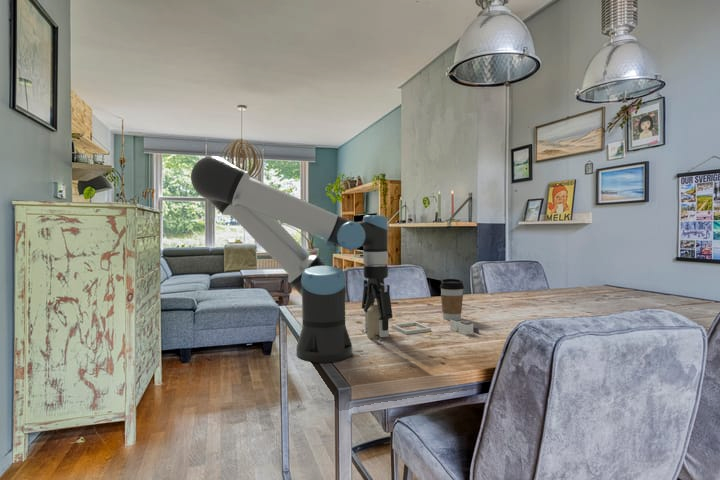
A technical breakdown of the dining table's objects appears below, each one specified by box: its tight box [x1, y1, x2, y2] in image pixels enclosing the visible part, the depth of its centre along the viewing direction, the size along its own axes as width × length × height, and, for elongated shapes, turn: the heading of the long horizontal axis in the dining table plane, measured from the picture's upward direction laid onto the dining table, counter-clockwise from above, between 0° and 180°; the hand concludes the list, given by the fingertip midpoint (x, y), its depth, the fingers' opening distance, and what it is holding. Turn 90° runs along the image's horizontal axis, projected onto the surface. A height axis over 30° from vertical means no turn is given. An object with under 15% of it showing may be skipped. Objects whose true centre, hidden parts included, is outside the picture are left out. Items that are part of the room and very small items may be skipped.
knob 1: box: [449, 317, 464, 332], centre depth 129 cm, size 3×3×4 cm
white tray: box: [390, 321, 480, 339], centre depth 129 cm, size 22×18×3 cm
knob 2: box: [458, 320, 474, 336], centre depth 125 cm, size 3×3×4 cm
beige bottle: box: [367, 303, 381, 340], centre depth 128 cm, size 6×6×10 cm
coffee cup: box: [439, 278, 465, 321], centre depth 145 cm, size 8×8×15 cm
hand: (376, 336), depth 128 cm, fingers open, 10 cm apart
